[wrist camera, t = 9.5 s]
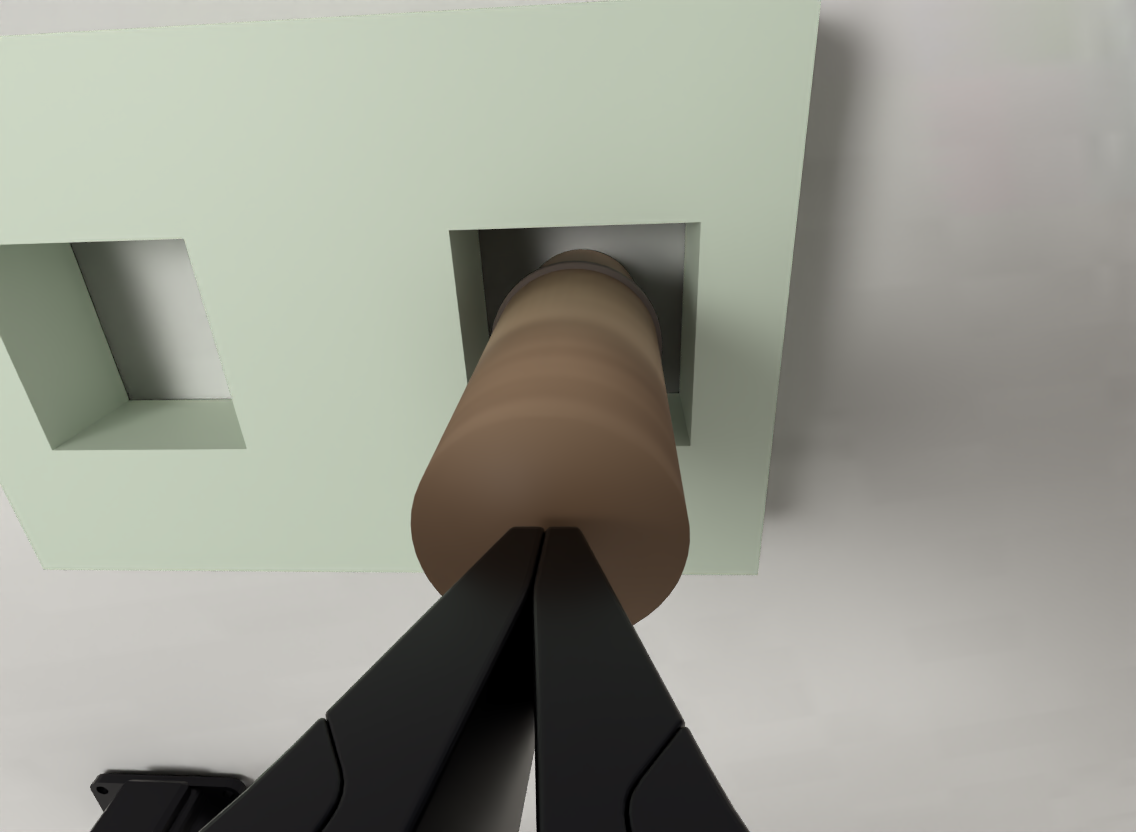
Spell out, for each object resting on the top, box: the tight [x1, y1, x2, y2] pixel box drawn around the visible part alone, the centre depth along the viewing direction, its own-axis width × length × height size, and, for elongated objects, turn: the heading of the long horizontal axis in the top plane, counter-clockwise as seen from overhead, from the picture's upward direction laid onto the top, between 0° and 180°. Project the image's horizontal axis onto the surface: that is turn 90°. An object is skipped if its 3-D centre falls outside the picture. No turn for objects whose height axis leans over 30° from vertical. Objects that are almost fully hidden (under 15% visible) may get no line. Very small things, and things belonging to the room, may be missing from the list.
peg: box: [411, 249, 690, 625], centre depth 13 cm, size 4×4×10 cm
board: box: [0, 0, 821, 575], centre depth 16 cm, size 20×13×3 cm, turn 93°
